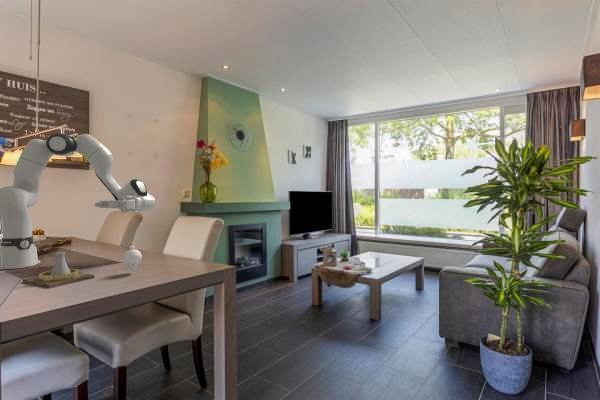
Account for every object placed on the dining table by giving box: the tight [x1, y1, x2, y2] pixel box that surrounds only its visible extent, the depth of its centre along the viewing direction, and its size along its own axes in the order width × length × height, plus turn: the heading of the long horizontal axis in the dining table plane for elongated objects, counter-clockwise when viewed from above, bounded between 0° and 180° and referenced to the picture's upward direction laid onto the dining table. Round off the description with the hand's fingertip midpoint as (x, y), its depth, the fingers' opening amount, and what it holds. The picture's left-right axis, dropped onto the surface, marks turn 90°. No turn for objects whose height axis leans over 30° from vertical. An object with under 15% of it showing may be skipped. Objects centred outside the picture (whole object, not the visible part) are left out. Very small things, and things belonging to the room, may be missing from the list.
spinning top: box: [122, 245, 143, 274], centre depth 151 cm, size 8×8×12 cm
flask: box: [50, 251, 71, 276], centre depth 140 cm, size 7×7×10 cm
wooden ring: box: [38, 268, 80, 281], centre depth 140 cm, size 13×13×2 cm
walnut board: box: [22, 272, 95, 289], centre depth 140 cm, size 19×17×1 cm
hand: (101, 204), depth 164 cm, fingers open, 8 cm apart
